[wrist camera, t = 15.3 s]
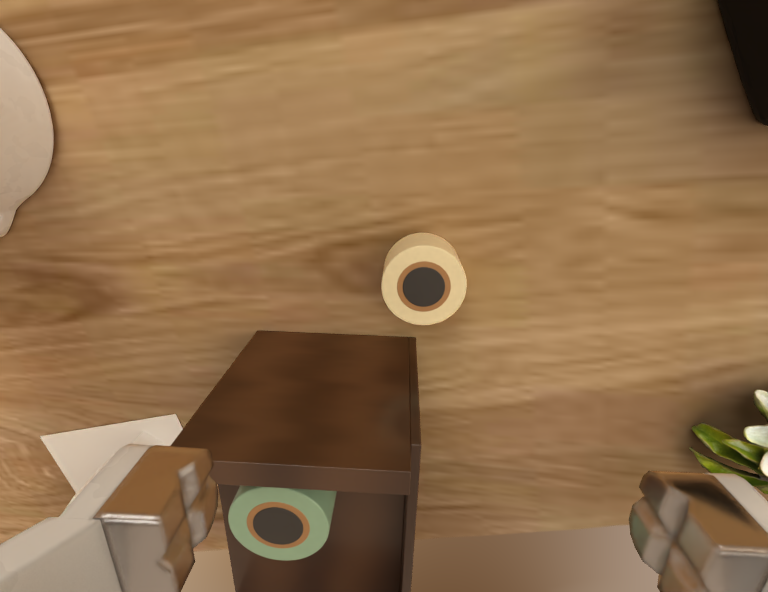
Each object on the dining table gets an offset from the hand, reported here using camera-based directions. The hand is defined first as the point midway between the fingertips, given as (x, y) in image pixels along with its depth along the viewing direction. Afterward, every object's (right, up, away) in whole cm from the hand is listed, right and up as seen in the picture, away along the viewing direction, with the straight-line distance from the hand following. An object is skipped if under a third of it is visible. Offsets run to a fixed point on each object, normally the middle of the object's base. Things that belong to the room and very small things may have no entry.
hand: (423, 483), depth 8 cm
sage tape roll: (-7, -8, +20) cm, 23 cm away
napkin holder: (-27, -14, +34) cm, 45 cm away
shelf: (-5, -9, +31) cm, 33 cm away
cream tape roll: (+2, +6, +25) cm, 25 cm away
